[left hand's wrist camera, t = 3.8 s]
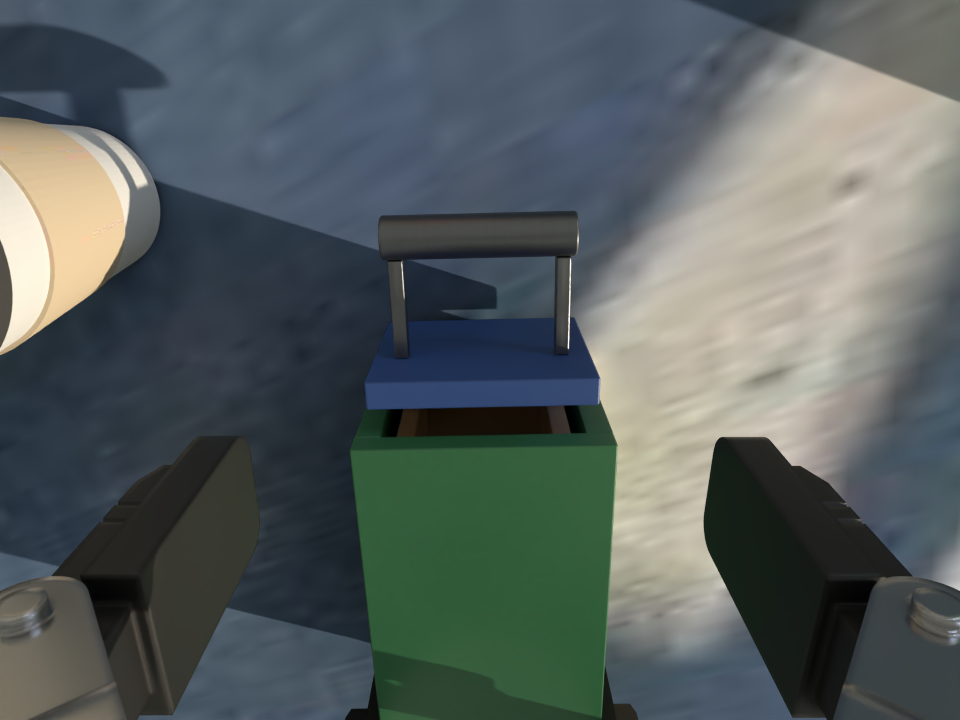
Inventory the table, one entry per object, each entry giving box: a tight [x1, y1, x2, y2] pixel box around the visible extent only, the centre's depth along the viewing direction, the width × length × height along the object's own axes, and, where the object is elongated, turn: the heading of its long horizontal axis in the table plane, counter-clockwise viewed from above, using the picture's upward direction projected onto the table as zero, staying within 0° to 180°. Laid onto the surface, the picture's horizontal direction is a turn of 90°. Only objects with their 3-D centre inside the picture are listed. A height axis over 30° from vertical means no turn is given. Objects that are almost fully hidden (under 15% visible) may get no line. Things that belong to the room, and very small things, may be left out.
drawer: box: [364, 211, 600, 437], centre depth 31 cm, size 25×9×8 cm, turn 1°
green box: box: [349, 399, 618, 720], centre depth 34 cm, size 20×10×10 cm, turn 1°
